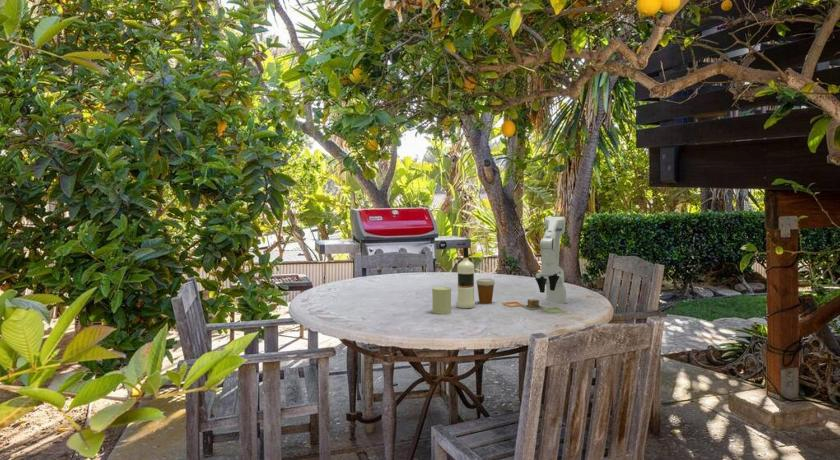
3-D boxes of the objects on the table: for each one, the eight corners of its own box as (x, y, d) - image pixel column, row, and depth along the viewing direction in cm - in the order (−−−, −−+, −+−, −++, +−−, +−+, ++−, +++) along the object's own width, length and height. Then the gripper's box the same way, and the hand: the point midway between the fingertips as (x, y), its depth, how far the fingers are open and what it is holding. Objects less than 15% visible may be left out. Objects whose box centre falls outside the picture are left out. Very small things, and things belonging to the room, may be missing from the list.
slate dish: (536, 306, 289) (536, 304, 289) (544, 309, 281) (544, 307, 281) (522, 307, 286) (522, 305, 286) (530, 311, 279) (530, 308, 279)
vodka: (453, 307, 288) (452, 247, 286) (462, 304, 296) (462, 245, 293) (469, 309, 283) (469, 248, 280) (478, 306, 290) (478, 246, 288)
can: (453, 313, 275) (453, 288, 274) (434, 314, 274) (434, 289, 273) (449, 309, 284) (449, 285, 283) (430, 310, 283) (430, 285, 282)
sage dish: (557, 309, 282) (557, 307, 282) (566, 312, 274) (566, 310, 274) (542, 310, 279) (542, 308, 279) (551, 314, 272) (551, 311, 271)
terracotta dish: (516, 303, 296) (516, 301, 296) (524, 306, 288) (524, 304, 288) (502, 304, 293) (502, 302, 293) (509, 308, 286) (509, 305, 286)
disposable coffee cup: (494, 305, 292) (494, 281, 292) (475, 304, 294) (475, 281, 293) (495, 301, 302) (495, 278, 301) (477, 301, 304) (477, 278, 303)
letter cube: (534, 306, 286) (534, 298, 286) (539, 308, 282) (539, 300, 282) (527, 307, 285) (527, 299, 285) (531, 309, 281) (531, 300, 281)
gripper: (550, 260, 284) (550, 288, 285) (531, 263, 275) (530, 292, 276) (562, 262, 279) (562, 290, 280) (542, 265, 270) (542, 294, 271)
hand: (547, 291), depth 278 cm, fingers open, 7 cm apart
